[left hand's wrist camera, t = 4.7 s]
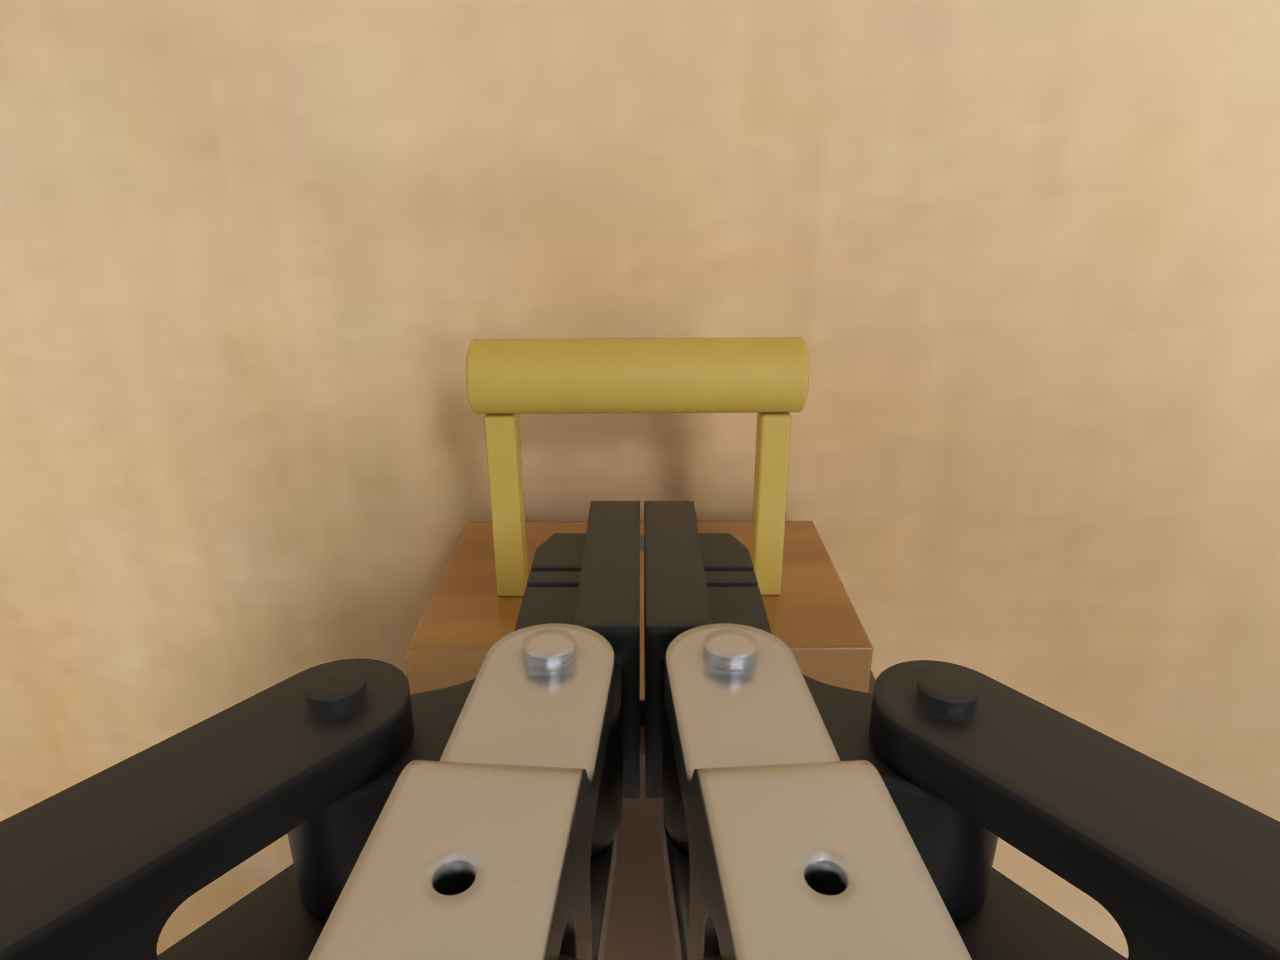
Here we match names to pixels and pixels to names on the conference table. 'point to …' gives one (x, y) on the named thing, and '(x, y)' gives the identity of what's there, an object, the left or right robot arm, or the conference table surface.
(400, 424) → the conference table surface
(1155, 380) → the conference table surface
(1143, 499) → the conference table surface
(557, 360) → the drawer
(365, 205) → the conference table surface
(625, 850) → the cabinet
